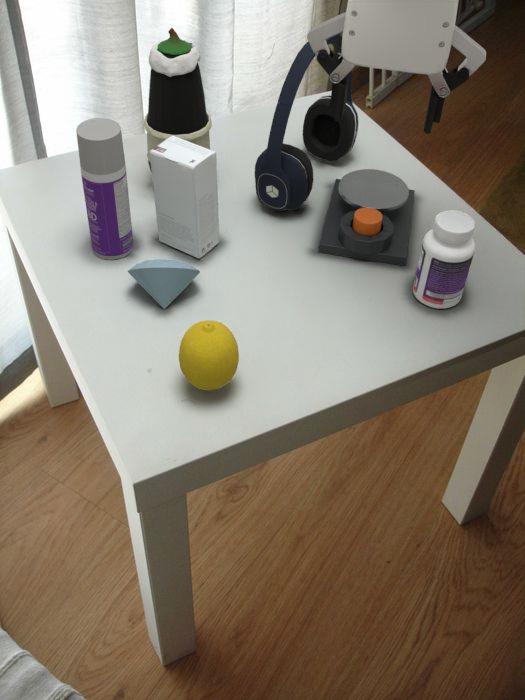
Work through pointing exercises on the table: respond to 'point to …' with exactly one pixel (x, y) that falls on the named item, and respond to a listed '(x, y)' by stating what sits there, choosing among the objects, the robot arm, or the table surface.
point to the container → (105, 187)
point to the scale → (377, 247)
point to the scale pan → (373, 190)
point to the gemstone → (163, 278)
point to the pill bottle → (445, 260)
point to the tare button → (367, 221)
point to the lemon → (208, 355)
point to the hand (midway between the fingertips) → (383, 120)
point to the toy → (176, 95)
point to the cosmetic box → (185, 195)
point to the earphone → (318, 136)
